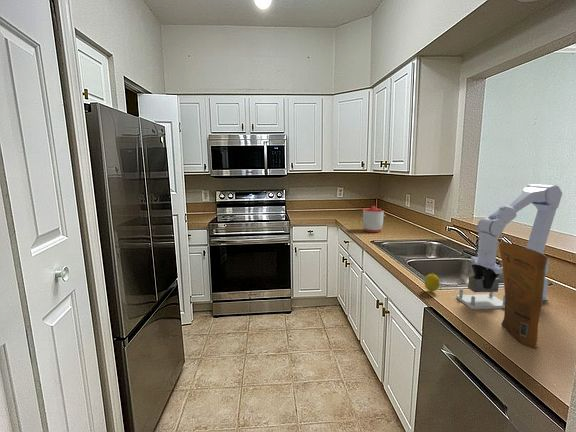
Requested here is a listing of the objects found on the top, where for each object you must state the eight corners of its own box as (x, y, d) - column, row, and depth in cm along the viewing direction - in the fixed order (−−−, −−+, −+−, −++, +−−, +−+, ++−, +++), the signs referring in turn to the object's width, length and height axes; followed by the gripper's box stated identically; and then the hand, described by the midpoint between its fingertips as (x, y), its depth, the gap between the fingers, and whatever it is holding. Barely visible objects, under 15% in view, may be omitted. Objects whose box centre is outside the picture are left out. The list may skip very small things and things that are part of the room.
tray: (490, 296, 126) (491, 287, 125) (509, 308, 116) (510, 297, 115) (456, 297, 125) (457, 287, 124) (472, 309, 115) (473, 298, 115)
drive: (490, 287, 122) (491, 274, 121) (497, 291, 118) (499, 278, 117) (467, 288, 121) (469, 275, 121) (474, 292, 118) (475, 279, 117)
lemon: (426, 288, 134) (427, 270, 133) (440, 291, 131) (441, 272, 130) (422, 292, 130) (423, 273, 129) (436, 295, 127) (438, 276, 125)
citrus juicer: (388, 233, 237) (389, 206, 234) (365, 233, 237) (366, 207, 233) (381, 229, 253) (382, 204, 249) (359, 229, 252) (360, 204, 249)
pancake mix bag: (522, 351, 90) (535, 254, 85) (488, 318, 108) (497, 238, 104) (548, 352, 89) (562, 255, 84) (509, 319, 108) (519, 238, 103)
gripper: (464, 245, 124) (461, 279, 126) (490, 256, 110) (486, 294, 112) (482, 245, 125) (478, 278, 127) (509, 256, 110) (505, 293, 113)
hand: (483, 285), depth 120 cm, fingers closed on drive, 4 cm apart
